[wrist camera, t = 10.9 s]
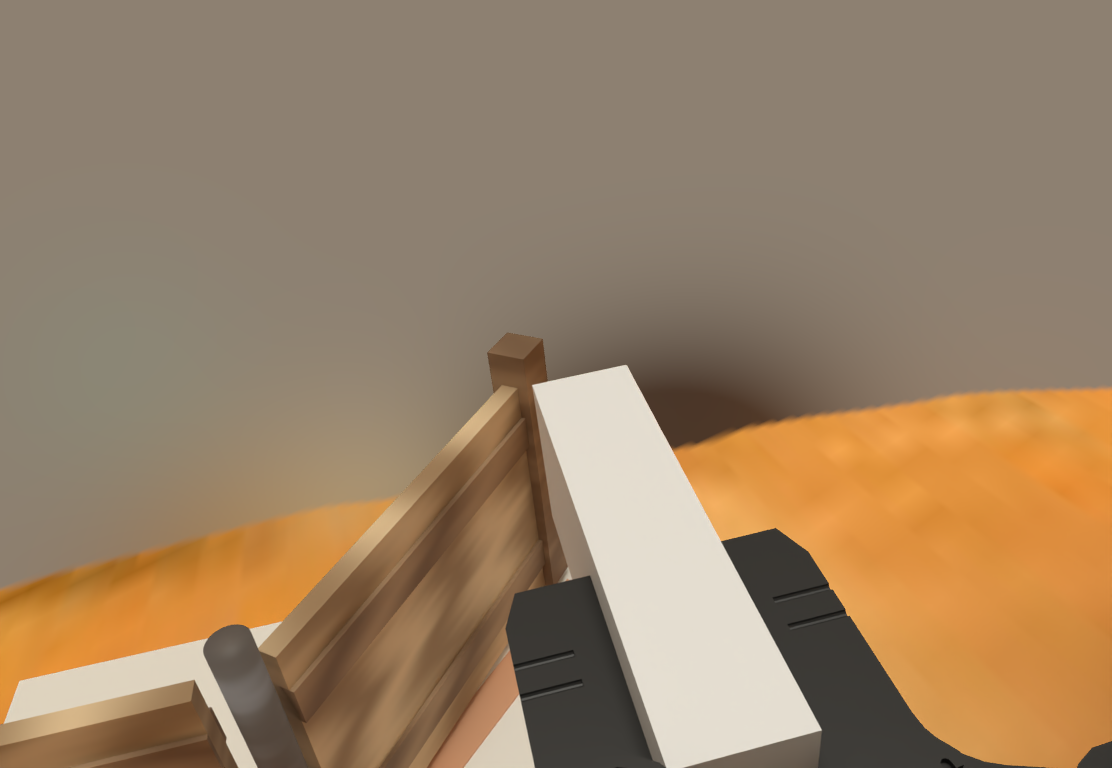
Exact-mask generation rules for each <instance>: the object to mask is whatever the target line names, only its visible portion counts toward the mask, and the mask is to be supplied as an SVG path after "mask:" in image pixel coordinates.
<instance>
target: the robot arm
mask: <svg viewBox="0 0 1112 768" xmlns="http://www.w3.org/2000/svg"><path fill="white" fill-rule="evenodd" d="M532 387H533V394H534V401H535V407H536V414H537V420H538V427H539V433H540V440H541V446H542V453H543V459H544V466H545V472H546V479H547V486H548V492H549V499H550V505H551V512H552V517H553V520H554V523H555V527H556V530H557V533H558V536H559V539H560V542H561V546H562V549H563V552H564V555H565V558H566V562H567V565H568V568H569V571H570V574H571V578H572V580H569V581H564V582H560V583H556V584H552V585H548V586H544V587H540V588H535V589H531V590H527V591H523V592H519V593H515V594H514V598H513V602H512V605H511V609H510V613H509V617H508V621H507V624H506V628H505V629H506V634H507V639H508V644H509V648H510V653H511V658H512V662H513V667H514V672H515V676H516V681H517V686H518V691H519V695H520V700H521V705H522V709H523V714H524V719H525V723H526V728H527V733H528V738H529V742H530V747H531V752H532V756H533V761H534V766H535V768H1044V767H1027V766H1010V765H1002V764H996V763H989V762H984V761H981V760H978V759H975V758H973V757H970V756H967V755H964V754H962V753H960V751H958V750H957V749H955V748H953V747H951V746H950V745H948V744H946V743H945V742H943V741H941V740H940V739H938V738H936V737H935V736H934V735H933V734H931V733H930V732H929V731H928V730H927V729H925V728H924V727H923V725H922V724H921V723H920V722H919V720H918V719H917V718H916V717H915V715H914V714H913V713H912V712H911V710H910V709H909V707H908V705H907V704H906V702H905V701H904V699H903V698H902V696H901V695H900V693H899V692H898V690H897V688H896V687H895V685H894V684H893V682H892V681H891V679H890V678H889V676H888V675H887V673H886V671H885V670H884V668H883V667H882V665H881V664H880V662H879V661H878V659H877V658H876V656H875V654H874V653H873V651H872V650H871V648H870V647H869V645H868V644H867V642H866V640H865V639H864V637H863V636H862V634H861V633H860V631H859V630H858V628H857V627H856V625H855V623H854V622H853V620H852V619H851V617H850V616H847V614H846V611H845V608H844V606H843V605H842V603H841V602H840V600H839V599H838V597H837V596H836V594H835V593H834V591H833V590H830V588H829V583H828V582H827V580H826V579H825V577H824V576H823V574H822V572H821V571H820V569H819V568H818V566H817V565H816V563H815V562H814V560H813V559H812V557H811V555H810V554H809V552H808V551H806V550H805V549H804V548H802V547H801V546H799V545H798V544H797V543H795V542H794V541H793V540H791V539H790V538H788V537H787V536H786V535H784V534H783V533H782V532H780V531H779V530H778V529H776V528H775V529H771V530H766V531H762V532H758V533H754V534H750V535H746V536H741V537H737V538H733V539H729V540H725V541H720V539H719V537H718V535H717V533H716V531H715V530H714V528H713V526H712V524H711V522H710V520H709V518H708V516H707V515H706V513H705V511H704V509H703V507H702V505H701V503H700V502H699V500H698V498H697V496H696V494H695V492H694V490H693V488H692V487H691V485H690V483H689V481H688V479H687V477H686V475H685V473H684V472H683V470H682V468H681V466H680V464H679V462H678V460H677V459H676V457H675V455H674V453H673V451H672V449H671V447H670V445H669V444H668V442H667V440H666V438H665V436H664V434H663V433H662V431H661V429H660V427H659V425H658V423H657V421H656V419H655V418H654V416H653V414H652V412H651V410H650V408H649V406H648V404H647V403H646V401H645V399H644V397H643V395H642V393H641V391H640V389H639V388H638V386H637V384H636V382H635V380H634V378H633V376H632V375H631V373H630V371H629V369H628V367H627V365H624V366H619V367H614V368H610V369H605V370H600V371H596V372H591V373H586V374H582V375H578V376H572V377H568V378H563V379H558V380H554V381H549V382H544V383H540V384H535V385H532ZM1077 768H1112V741H1111V742H1108V743H1105V744H1102V745H1099V746H1096V747H1093V748H1092V749H1091V750H1090V751H1089V752H1088V753H1087V755H1086V756H1085V757H1084V758H1083V759H1082V760H1081V762H1080V763H1079V764H1078V766H1077Z"/></svg>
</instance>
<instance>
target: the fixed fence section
mask: <svg viewBox="0 0 1112 768" xmlns="http://www.w3.org/2000/svg"><path fill="white" fill-rule="evenodd" d="M226 739H227V737H226V735H225V733H224V731H223V729H222V727H221V725H220V723H219V721H218V719H217V717H216V715H215V713H214V711H213V709H212V707H209V708H208V706H207V704H206V702H205V700H204V698H203V696H202V694H201V692H200V690H199V688H198V686H197V684H196V682H195V680H191V681H186V682H182V683H178V684H173V685H169V686H165V687H160V688H156V689H152V690H147V691H143V692H139V693H134V694H130V695H126V696H122V697H117V698H113V699H109V700H104V701H100V702H96V703H91V704H87V705H83V706H78V707H74V708H70V709H65V710H61V711H57V712H52V713H48V714H44V715H39V716H35V717H31V718H27V719H22V720H18V721H14V722H9V723H5V724H1V725H0V768H238V766H237V764H236V762H235V760H234V758H233V756H232V754H231V752H230V750H229V748H228V746H227V744H226Z"/></svg>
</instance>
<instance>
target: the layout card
mask: <svg viewBox="0 0 1112 768" xmlns="http://www.w3.org/2000/svg"><path fill="white" fill-rule="evenodd" d="M569 580H572V578H571V574H570V571H569V568H568V567H567V569H566V570H565V572H564V574H563V575H562V577H561V578H560V580H559V581H558V583H560V582H564V581H569ZM281 623H282V622H279V623H274V624H270V625H265V626H261V627H256V628H252V629H250V631H251V633H252V635H253V638H254V640H255V642H256V645H257V647H258V648H259V647H260V645H261V644H262V643H263V642H264V641H265V640H266V639H267V638H268V637H269V636H270V635H271V634H272V632H273V631H274V630H275V629H276V628H277V627H278V626H279V625H280V624H281ZM207 640H208V639H203V640H199V641H194V642H190V643H186V644H181V645H177V646H172V647H168V648H164V649H159V650H155V651H150V652H146V653H141V654H137V655H133V656H128V657H124V658H119V659H115V660H110V661H106V662H102V663H97V664H93V665H88V666H84V667H79V668H75V669H71V670H66V671H62V672H57V673H53V674H48V675H44V676H40V677H35V678H31V679H26V680H22V681H19V684H18V687H17V689H16V692H15V695H14V698H13V700H12V703H11V706H10V708H9V711H8V714H7V717H6V719H5V722H4V724H5V723H9V722H14V721H18V720H22V719H27V718H31V717H35V716H39V715H44V714H48V713H52V712H57V711H61V710H65V709H70V708H74V707H78V706H83V705H87V704H91V703H96V702H100V701H104V700H109V699H113V698H117V697H122V696H126V695H130V694H134V693H139V692H143V691H147V690H152V689H156V688H160V687H165V686H169V685H173V684H178V683H182V682H186V681H191V680H195V682H196V684H197V686H198V688H199V690H200V692H201V694H202V696H203V698H204V700H205V702H206V704H207V706H208V708H209V707H212V709H213V711H214V713H215V715H216V717H217V719H218V721H219V723H220V725H221V727H222V729H223V731H224V733H225V735H226V737H227V739H226V744H227V746H228V748H229V750H230V752H231V754H232V756H233V758H234V760H235V762H236V764H237V766H238V768H258V767H257V765H256V763H255V761H254V759H253V757H252V755H251V753H250V751H249V749H248V747H247V744H246V742H245V740H244V738H243V736H242V734H241V732H240V730H239V728H238V726H237V724H236V721H235V719H234V717H233V715H232V713H231V711H230V709H229V707H228V705H227V703H226V701H225V698H224V696H223V694H222V692H221V690H220V688H219V686H218V684H217V682H216V680H215V678H214V675H213V673H212V671H211V669H210V667H209V665H208V663H207V661H206V659H205V657H204V654H203V648H204V645H205V643H206V641H207ZM427 768H535V766H534V761H533V756H532V752H531V747H530V742H529V738H528V733H527V728H526V723H525V719H524V714H523V709H522V705H521V700H520V695H519V691H518V686H517V681H516V676H515V672H514V667H513V662H512V658H511V653H510V648H509V644H507V645H506V647H505V648H504V650H503V652H502V653H501V655H500V656H499V658H498V659H497V661H496V662H495V664H494V665H493V667H492V668H491V670H490V671H489V673H488V675H487V676H486V678H485V679H484V681H483V682H482V684H481V685H480V687H479V688H478V690H477V691H476V693H475V694H474V696H473V698H472V699H471V701H470V702H469V704H468V705H467V707H466V708H465V710H464V711H463V713H462V714H461V716H460V717H459V719H458V721H457V722H456V724H455V725H454V727H453V728H452V730H451V731H450V733H449V734H448V736H447V737H446V739H445V740H444V742H443V744H442V745H441V747H440V748H439V750H438V751H437V753H436V754H435V756H434V757H433V759H432V760H431V762H430V763H429V765H428V767H427Z"/></svg>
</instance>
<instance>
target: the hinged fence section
mask: <svg viewBox="0 0 1112 768" xmlns="http://www.w3.org/2000/svg"><path fill="white" fill-rule="evenodd" d="M487 354H488V359H489V365H490V373H491V379H492V385H493V391H494V394H493V395H492V396H491V397H490V398H489V399H488V401H487V402H486V403H485V404H484V405H483V406H482V407H481V408H480V409H479V410H478V411H477V412H476V413H475V415H474V416H473V417H472V418H471V419H470V420H469V421H468V422H467V423H466V424H465V425H464V426H463V428H462V429H461V430H460V431H459V432H458V433H457V434H456V435H455V436H454V437H453V438H452V440H450V442H449V443H448V444H447V445H446V446H445V447H444V448H443V449H442V450H441V451H440V452H439V453H438V455H437V456H436V457H435V458H434V459H433V460H432V461H431V462H430V463H429V464H428V466H426V467H425V469H424V470H423V471H422V472H421V473H420V474H419V475H418V476H417V477H416V478H415V479H414V480H413V481H412V483H411V484H410V485H409V486H408V487H407V488H406V489H405V490H404V491H403V492H402V493H401V494H400V495H399V497H398V498H397V499H396V500H395V501H394V502H393V503H392V504H391V505H390V506H389V507H388V508H387V509H386V511H385V512H384V513H383V514H382V515H381V516H380V517H379V518H378V519H377V520H376V521H375V522H374V524H373V525H372V526H371V527H370V528H369V529H368V530H367V531H366V532H365V533H364V534H363V535H362V536H361V538H360V539H359V540H358V541H357V542H356V543H355V544H354V545H353V546H352V547H351V548H350V549H349V550H348V552H347V553H346V554H345V555H344V556H343V557H342V558H341V559H340V560H339V561H338V562H337V563H336V565H335V566H334V567H333V568H332V569H331V570H330V571H329V572H328V573H327V574H326V575H325V576H324V577H323V579H322V580H321V581H320V582H319V583H318V584H317V585H316V586H315V587H314V588H313V589H312V590H311V591H310V593H309V594H308V595H307V596H306V597H305V598H304V599H303V600H302V601H301V602H300V603H299V604H298V606H297V607H296V608H295V609H294V610H293V611H292V612H291V613H290V614H289V615H288V616H287V617H286V618H285V620H284V621H283V622H282V623H281V624H280V625H279V626H278V627H277V628H276V629H275V630H274V631H273V632H272V634H271V635H270V636H269V637H268V638H267V639H266V640H265V641H264V642H263V643H262V644H261V645H260V647H259V648H258V647H257V645H256V642H255V640H254V638H253V635H252V633H251V631H250V629H249V628H247V627H246V626H243V625H230V626H226V627H223V628H221V629H219V630H218V631H216V632H215V633H213V634H212V635H211V636H210V637H209V638H208V640H207V641H206V643H205V645H204V648H203V654H204V657H205V659H206V661H207V663H208V665H209V667H210V669H211V671H212V673H213V675H214V678H215V680H216V682H217V684H218V686H219V688H220V690H221V692H222V694H223V696H224V698H225V701H226V703H227V705H228V707H229V709H230V711H231V713H232V715H233V717H234V719H235V721H236V724H237V726H238V728H239V730H240V732H241V734H242V736H243V738H244V740H245V742H246V744H247V747H248V749H249V751H250V753H251V755H252V757H253V759H254V761H255V763H256V765H257V767H258V768H427V767H428V765H429V763H430V762H431V760H432V759H433V757H434V756H435V754H436V753H437V751H438V750H439V748H440V747H441V745H442V744H443V742H444V740H445V739H446V737H447V736H448V734H449V733H450V731H451V730H452V728H453V727H454V725H455V724H456V722H457V721H458V719H459V717H460V716H461V714H462V713H463V711H464V710H465V708H466V707H467V705H468V704H469V702H470V701H471V699H472V698H473V696H474V694H475V693H476V691H477V690H478V688H479V687H480V685H481V684H482V682H483V681H484V679H485V678H486V676H487V675H488V673H489V671H490V670H491V668H492V667H493V665H494V664H495V662H496V661H497V659H498V658H499V656H500V655H501V653H502V652H503V650H504V648H505V647H506V645H507V644H508V639H507V634H506V629H505V628H506V624H507V621H508V617H509V613H510V609H511V605H512V602H513V598H514V594H515V593H519V592H523V591H527V590H531V589H535V588H540V587H544V586H548V585H552V584H556V583H558V581H559V580H560V578H561V577H562V575H563V574H564V572H565V570H566V569H567V567H568V565H567V562H566V558H565V555H564V552H563V549H562V546H561V542H560V539H559V536H558V533H557V530H556V527H555V523H554V520H553V517H552V512H551V505H550V499H549V492H548V486H547V479H546V472H545V466H544V459H543V453H542V446H541V440H540V433H539V427H538V420H537V414H536V407H535V401H534V394H533V387H532V385H535V384H540V383H544V382H548V381H547V373H546V365H545V356H544V347H543V339H540V338H534V337H529V336H524V335H518V334H512V333H506V334H505V335H504V337H502V338H501V339H500V340H499V342H498V343H496V345H494V346H493V348H491V349H490V350H489V351H488V353H487Z"/></svg>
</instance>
